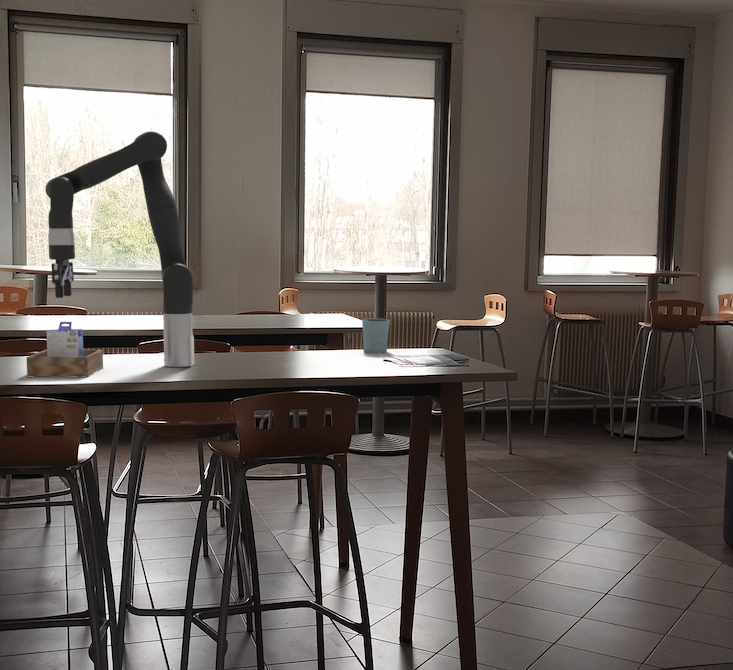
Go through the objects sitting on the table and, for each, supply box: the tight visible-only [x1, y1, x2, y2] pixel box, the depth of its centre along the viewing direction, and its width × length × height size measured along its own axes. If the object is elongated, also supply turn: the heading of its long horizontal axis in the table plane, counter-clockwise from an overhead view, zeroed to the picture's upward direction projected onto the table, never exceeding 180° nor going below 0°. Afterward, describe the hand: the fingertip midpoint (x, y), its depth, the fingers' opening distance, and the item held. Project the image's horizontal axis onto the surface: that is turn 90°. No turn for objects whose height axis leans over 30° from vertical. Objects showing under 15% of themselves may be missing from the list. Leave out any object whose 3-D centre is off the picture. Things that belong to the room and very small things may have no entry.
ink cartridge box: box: [46, 321, 84, 357], centre depth 281 cm, size 10×6×14 cm, turn 93°
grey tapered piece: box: [361, 317, 391, 354], centre depth 335 cm, size 10×10×12 cm
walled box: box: [26, 349, 104, 377], centre depth 282 cm, size 18×18×6 cm
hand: (63, 296), depth 280 cm, fingers open, 8 cm apart
